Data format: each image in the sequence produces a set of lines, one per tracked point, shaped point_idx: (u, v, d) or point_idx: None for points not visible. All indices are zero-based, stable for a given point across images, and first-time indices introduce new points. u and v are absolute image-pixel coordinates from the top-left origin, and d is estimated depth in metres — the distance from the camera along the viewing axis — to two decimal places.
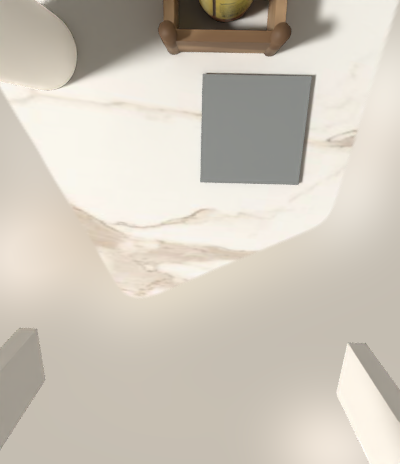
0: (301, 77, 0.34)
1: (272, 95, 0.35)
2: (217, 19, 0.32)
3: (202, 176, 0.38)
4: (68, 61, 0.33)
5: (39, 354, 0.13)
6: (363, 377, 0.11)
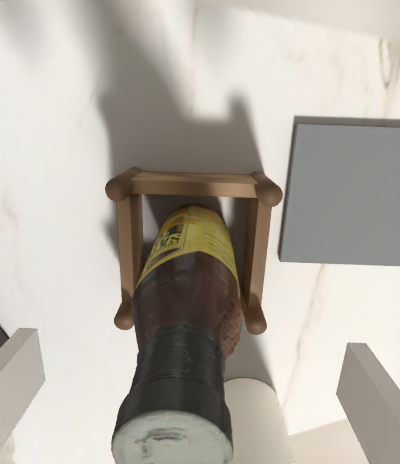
0: (298, 138, 0.25)
1: (315, 176, 0.26)
2: None
3: None
4: (261, 396, 0.31)
5: (39, 354, 0.13)
6: (362, 377, 0.11)
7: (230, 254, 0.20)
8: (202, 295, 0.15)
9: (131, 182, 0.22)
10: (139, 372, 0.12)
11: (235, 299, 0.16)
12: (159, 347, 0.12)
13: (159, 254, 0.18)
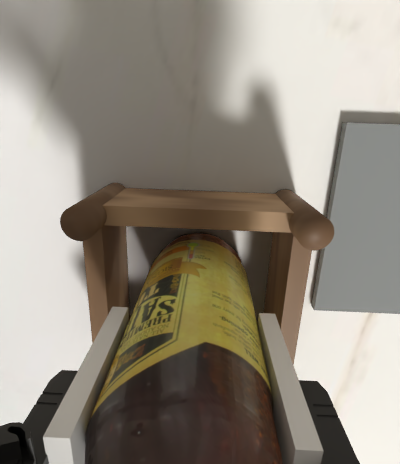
0: (346, 142, 0.17)
1: (368, 197, 0.18)
2: None
3: None
4: None
5: None
6: (263, 340, 0.13)
7: (253, 327, 0.13)
8: None
9: (103, 209, 0.15)
10: None
11: (274, 453, 0.08)
12: None
13: (137, 342, 0.11)
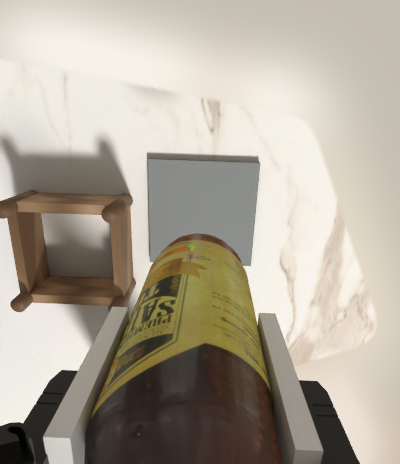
0: (149, 169, 0.34)
1: (166, 197, 0.34)
2: None
3: (244, 263, 0.37)
4: None
5: None
6: (263, 340, 0.13)
7: (254, 328, 0.13)
8: None
9: (15, 204, 0.31)
10: None
11: (274, 454, 0.08)
12: None
13: (137, 343, 0.11)
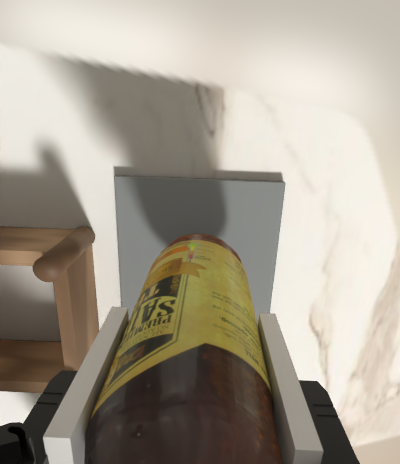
0: (117, 191, 0.22)
1: (144, 233, 0.23)
2: None
3: None
4: None
5: None
6: (263, 340, 0.13)
7: (254, 328, 0.13)
8: None
9: None
10: None
11: (274, 454, 0.08)
12: None
13: (137, 343, 0.11)
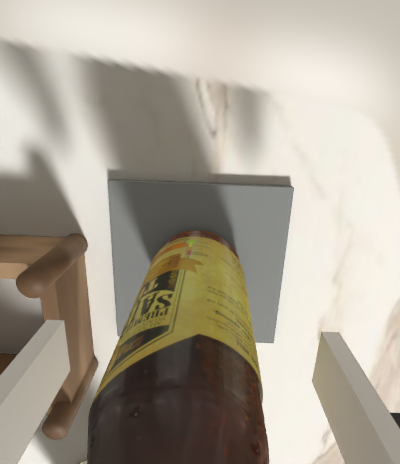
0: (111, 197, 0.20)
1: (141, 241, 0.21)
2: None
3: (264, 340, 0.24)
4: None
5: (65, 345, 0.14)
6: (333, 364, 0.12)
7: (246, 321, 0.14)
8: (202, 448, 0.08)
9: None
10: None
11: (259, 434, 0.09)
12: None
13: (136, 334, 0.12)
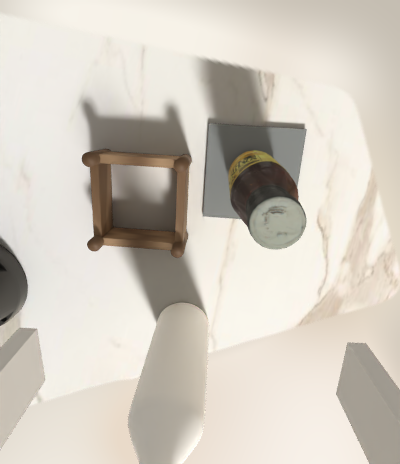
0: (209, 132, 0.39)
1: (222, 158, 0.40)
2: None
3: None
4: (191, 312, 0.45)
5: (39, 354, 0.13)
6: (362, 377, 0.11)
7: None
8: (280, 175, 0.26)
9: (98, 156, 0.36)
10: (255, 198, 0.23)
11: (295, 184, 0.27)
12: (263, 190, 0.24)
13: (246, 164, 0.30)
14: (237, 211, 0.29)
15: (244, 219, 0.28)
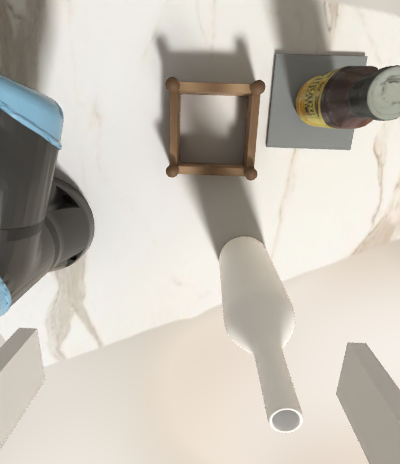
0: (276, 62, 0.42)
1: (288, 88, 0.43)
2: None
3: (345, 148, 0.45)
4: (255, 242, 0.48)
5: (39, 354, 0.13)
6: (362, 377, 0.11)
7: None
8: (374, 70, 0.29)
9: (179, 82, 0.39)
10: (364, 79, 0.26)
11: None
12: (368, 74, 0.27)
13: (332, 72, 0.33)
14: (328, 112, 0.32)
15: (337, 117, 0.31)
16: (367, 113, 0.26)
